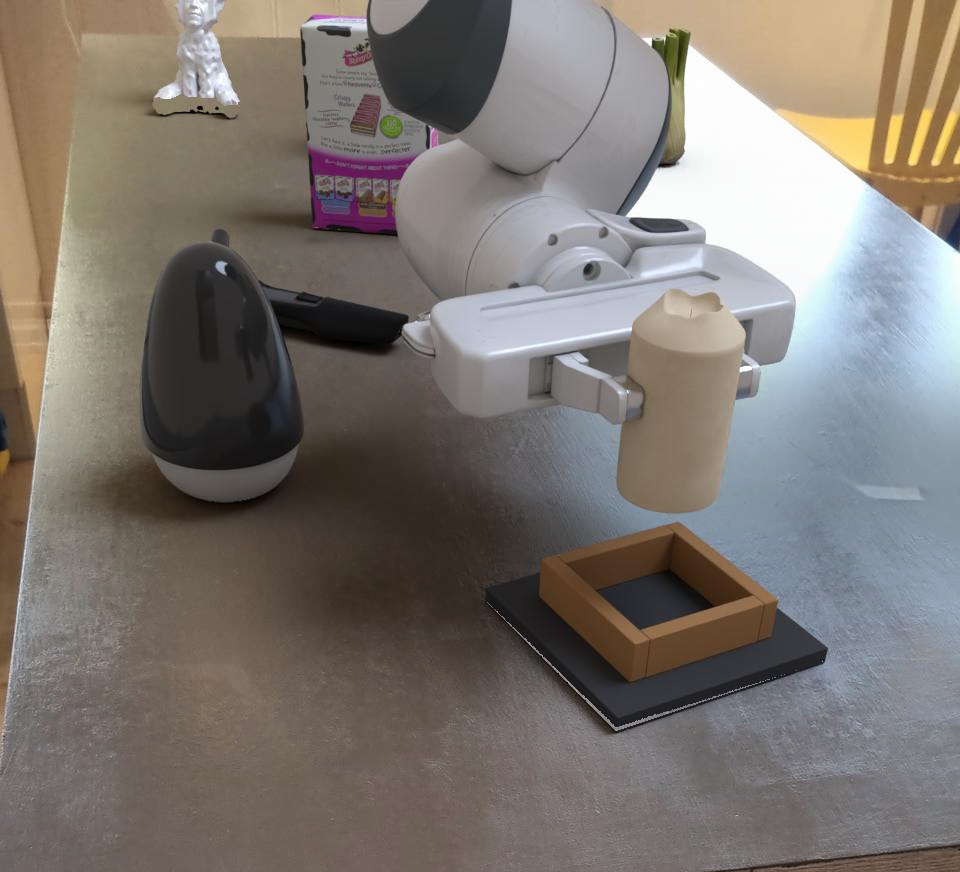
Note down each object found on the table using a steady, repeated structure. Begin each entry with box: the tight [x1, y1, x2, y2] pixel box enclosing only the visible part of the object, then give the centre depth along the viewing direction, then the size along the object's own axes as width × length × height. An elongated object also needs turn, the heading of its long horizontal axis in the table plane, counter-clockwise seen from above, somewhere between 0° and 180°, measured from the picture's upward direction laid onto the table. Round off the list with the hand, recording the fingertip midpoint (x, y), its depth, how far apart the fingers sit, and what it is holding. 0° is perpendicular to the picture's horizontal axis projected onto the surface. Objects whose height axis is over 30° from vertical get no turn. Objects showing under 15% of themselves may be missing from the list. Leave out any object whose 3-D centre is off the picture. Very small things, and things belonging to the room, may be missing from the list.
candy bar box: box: [299, 14, 439, 235], centre depth 120 cm, size 11×5×16 cm, turn 82°
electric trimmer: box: [258, 279, 410, 345], centre depth 107 cm, size 4×16×3 cm, turn 66°
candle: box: [615, 289, 746, 515], centre depth 69 cm, size 6×6×10 cm
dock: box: [484, 521, 829, 733], centre depth 77 cm, size 14×14×4 cm
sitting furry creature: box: [153, 0, 241, 106], centre depth 148 cm, size 10×9×12 cm
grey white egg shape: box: [139, 228, 305, 503], centre depth 85 cm, size 10×10×15 cm
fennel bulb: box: [650, 27, 691, 165], centre depth 138 cm, size 6×5×12 cm
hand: (691, 396), depth 68 cm, fingers closed on candle, 5 cm apart
